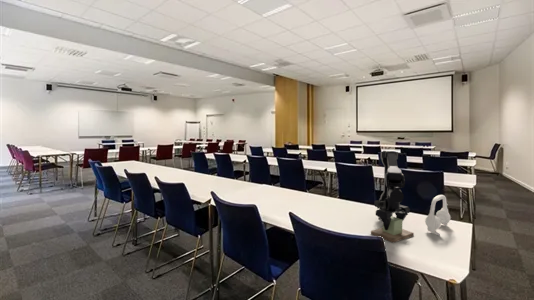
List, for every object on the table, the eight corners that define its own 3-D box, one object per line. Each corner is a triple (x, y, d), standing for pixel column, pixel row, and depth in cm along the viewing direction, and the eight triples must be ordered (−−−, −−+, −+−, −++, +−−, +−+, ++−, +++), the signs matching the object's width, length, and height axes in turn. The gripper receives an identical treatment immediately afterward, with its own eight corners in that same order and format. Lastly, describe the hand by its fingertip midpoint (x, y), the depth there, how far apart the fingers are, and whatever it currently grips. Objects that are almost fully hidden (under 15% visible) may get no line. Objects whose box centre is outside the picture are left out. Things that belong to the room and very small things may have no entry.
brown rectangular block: (391, 228, 139) (391, 215, 139) (413, 235, 129) (414, 222, 128) (370, 233, 131) (371, 220, 131) (392, 242, 121) (393, 228, 120)
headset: (437, 223, 147) (438, 191, 146) (452, 226, 141) (454, 193, 140) (423, 231, 134) (424, 197, 133) (439, 236, 129) (440, 200, 127)
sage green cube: (390, 228, 134) (390, 215, 133) (402, 232, 129) (402, 219, 128) (382, 230, 131) (383, 217, 130) (394, 235, 125) (394, 221, 125)
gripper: (390, 191, 140) (389, 220, 141) (366, 195, 131) (365, 226, 132) (410, 196, 131) (409, 227, 132) (386, 201, 121) (385, 234, 122)
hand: (392, 228), depth 130 cm, fingers open, 9 cm apart
